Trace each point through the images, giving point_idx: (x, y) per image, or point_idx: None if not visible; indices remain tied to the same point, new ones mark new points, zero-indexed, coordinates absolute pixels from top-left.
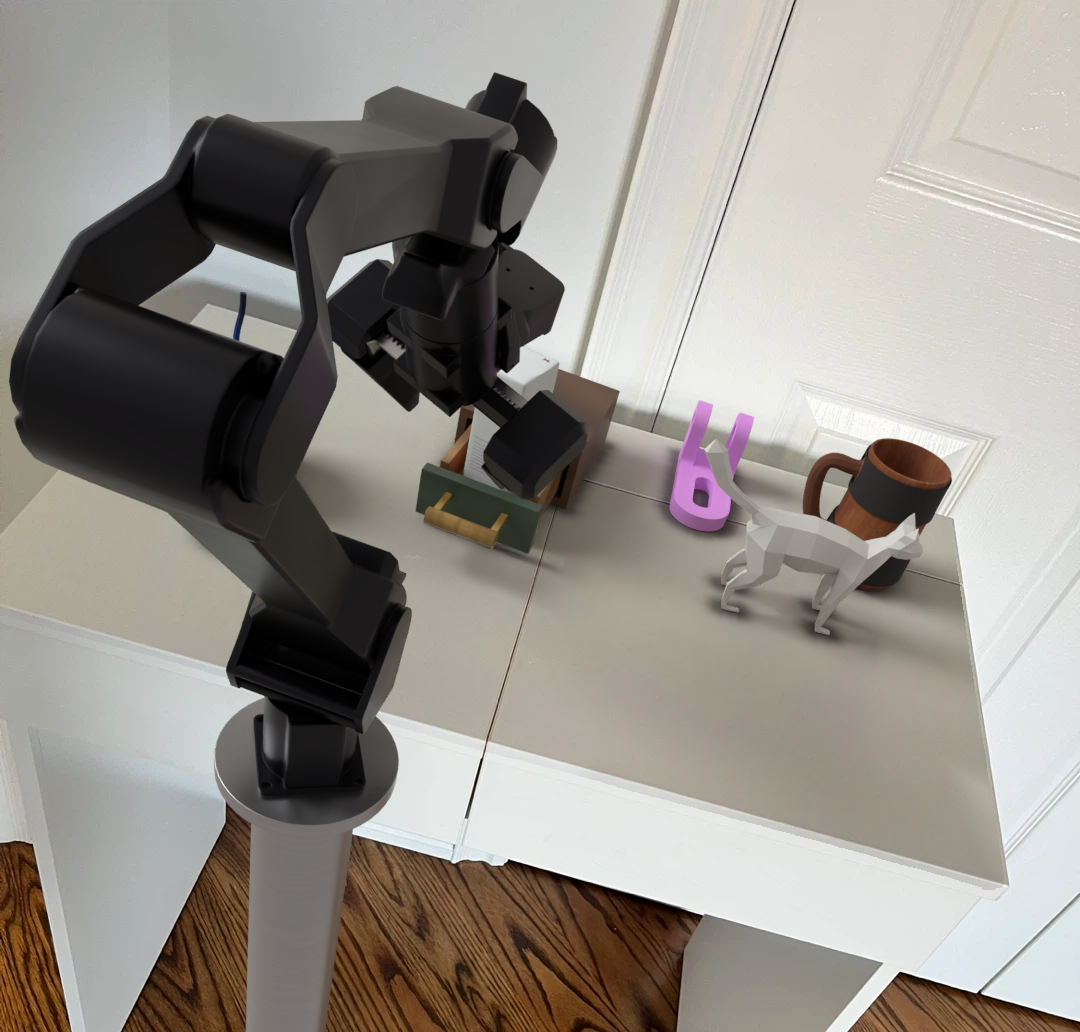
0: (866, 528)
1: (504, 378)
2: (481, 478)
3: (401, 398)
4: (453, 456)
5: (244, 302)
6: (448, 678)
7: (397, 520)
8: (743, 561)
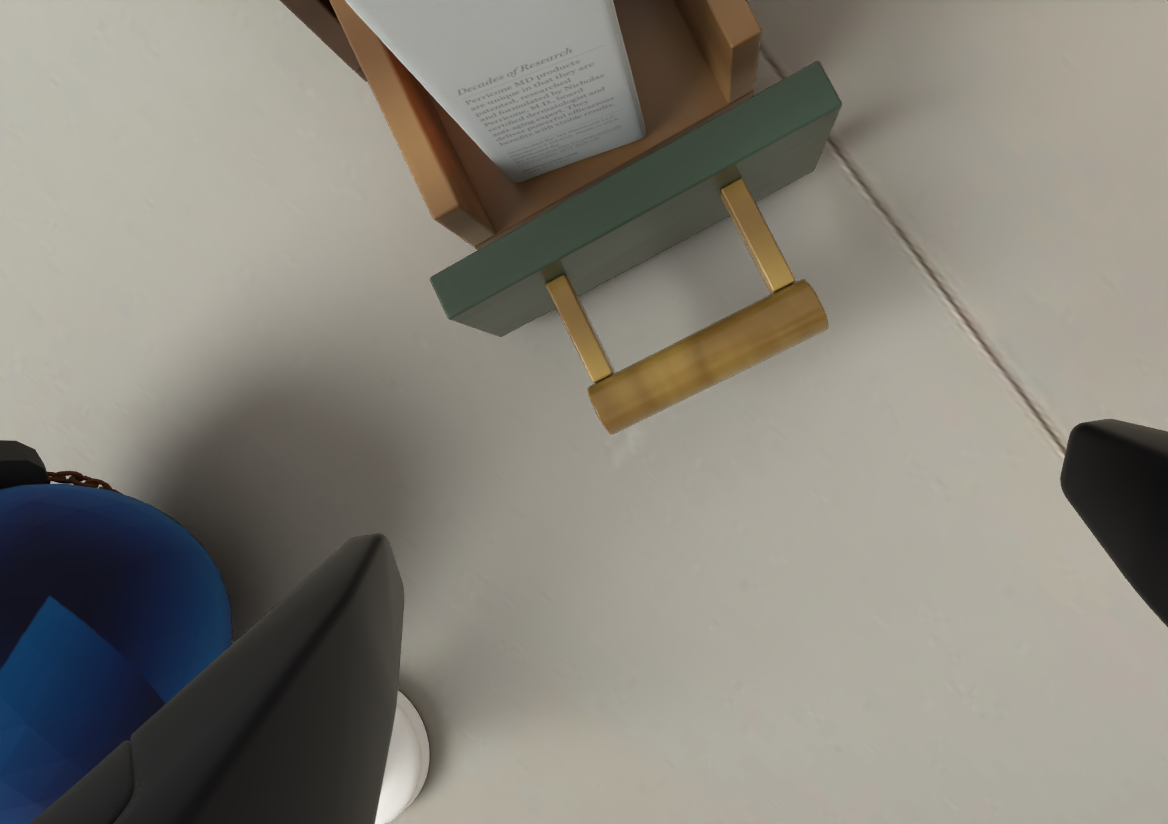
0: None
1: None
2: (553, 135)
3: (376, 767)
4: (436, 164)
5: None
6: (1066, 707)
7: (487, 377)
8: None
